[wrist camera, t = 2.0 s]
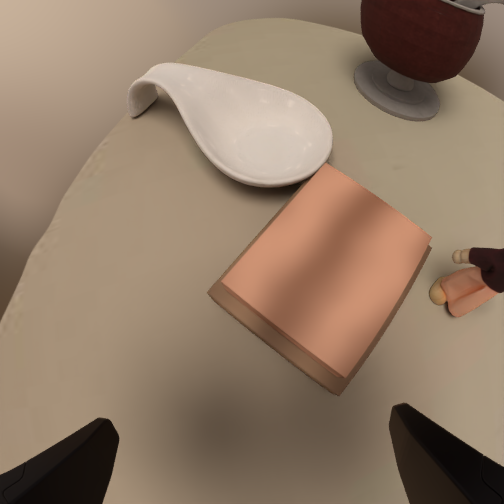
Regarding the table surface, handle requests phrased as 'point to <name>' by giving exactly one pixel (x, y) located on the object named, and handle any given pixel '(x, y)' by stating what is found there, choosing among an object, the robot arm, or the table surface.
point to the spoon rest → (241, 123)
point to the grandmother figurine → (471, 280)
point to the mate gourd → (416, 51)
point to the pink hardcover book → (325, 277)
